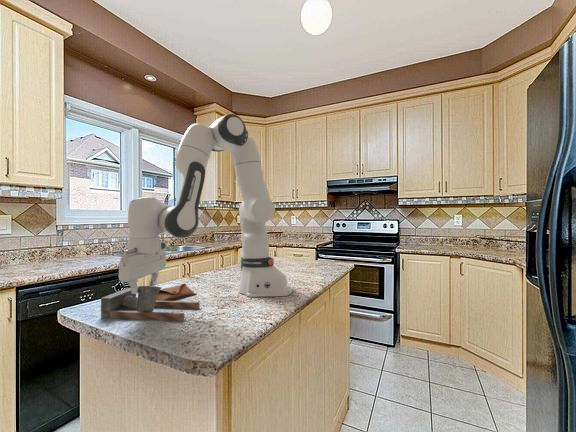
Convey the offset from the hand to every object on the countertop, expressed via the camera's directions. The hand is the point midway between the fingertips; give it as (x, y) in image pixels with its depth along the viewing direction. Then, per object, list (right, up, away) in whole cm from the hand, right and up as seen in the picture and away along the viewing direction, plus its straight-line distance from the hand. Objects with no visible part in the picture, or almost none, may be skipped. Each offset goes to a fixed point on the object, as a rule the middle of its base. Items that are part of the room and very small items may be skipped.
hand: (144, 289), depth 93 cm
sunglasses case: (+2, -8, +16) cm, 18 cm away
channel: (+3, -7, -1) cm, 8 cm away
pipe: (-1, -7, -3) cm, 7 cm away
